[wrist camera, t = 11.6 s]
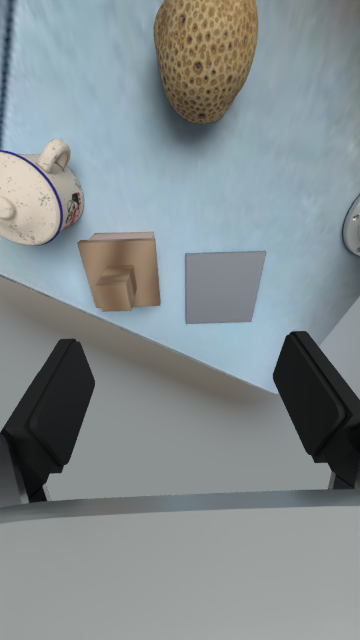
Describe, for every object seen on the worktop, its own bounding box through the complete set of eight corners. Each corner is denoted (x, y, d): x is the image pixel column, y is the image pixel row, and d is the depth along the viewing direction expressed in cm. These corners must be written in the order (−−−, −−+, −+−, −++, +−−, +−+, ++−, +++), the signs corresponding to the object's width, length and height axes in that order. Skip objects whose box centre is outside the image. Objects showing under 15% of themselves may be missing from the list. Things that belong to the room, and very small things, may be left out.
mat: (265, 251, 36) (266, 252, 36) (250, 319, 45) (251, 321, 44) (185, 253, 36) (186, 254, 36) (186, 321, 44) (186, 323, 44)
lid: (154, 238, 30) (150, 257, 24) (160, 301, 36) (158, 329, 30) (80, 240, 30) (57, 260, 24) (98, 303, 36) (83, 332, 30)
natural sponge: (236, 124, 27) (264, 110, 19) (164, 132, 27) (160, 121, 19) (242, 1, 22) (285, -93, 14) (152, 12, 22) (141, -74, 14)
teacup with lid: (67, 240, 34) (27, 271, 25) (5, 194, 31) (-69, 210, 21) (110, 174, 30) (82, 181, 20) (44, 109, 26) (-30, 81, 16)
